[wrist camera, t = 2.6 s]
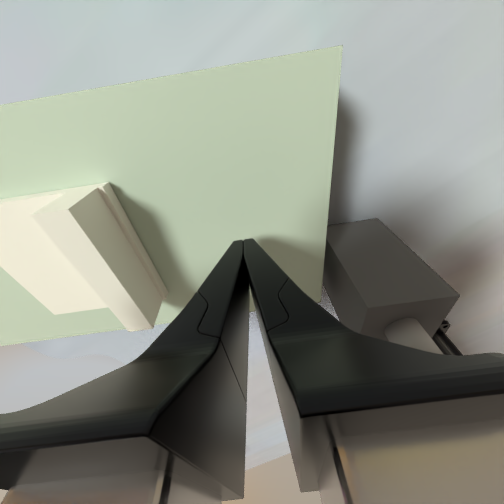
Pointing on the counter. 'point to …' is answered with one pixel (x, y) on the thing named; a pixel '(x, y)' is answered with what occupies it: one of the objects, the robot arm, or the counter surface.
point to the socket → (184, 173)
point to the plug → (384, 285)
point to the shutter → (80, 254)
